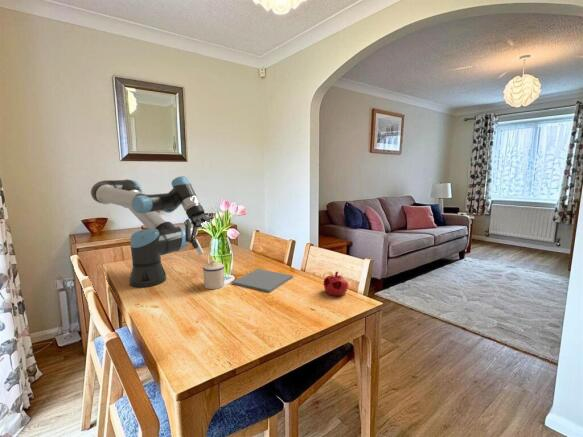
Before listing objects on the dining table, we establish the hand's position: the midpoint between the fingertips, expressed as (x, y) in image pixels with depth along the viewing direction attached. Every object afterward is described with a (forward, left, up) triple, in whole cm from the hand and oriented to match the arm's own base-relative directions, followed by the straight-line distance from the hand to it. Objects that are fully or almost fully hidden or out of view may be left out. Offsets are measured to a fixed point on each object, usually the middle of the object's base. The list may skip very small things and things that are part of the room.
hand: (214, 249), depth 130 cm
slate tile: (+17, +13, -16) cm, 27 cm away
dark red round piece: (+51, +16, -16) cm, 56 cm away
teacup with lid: (0, -2, -16) cm, 16 cm away
